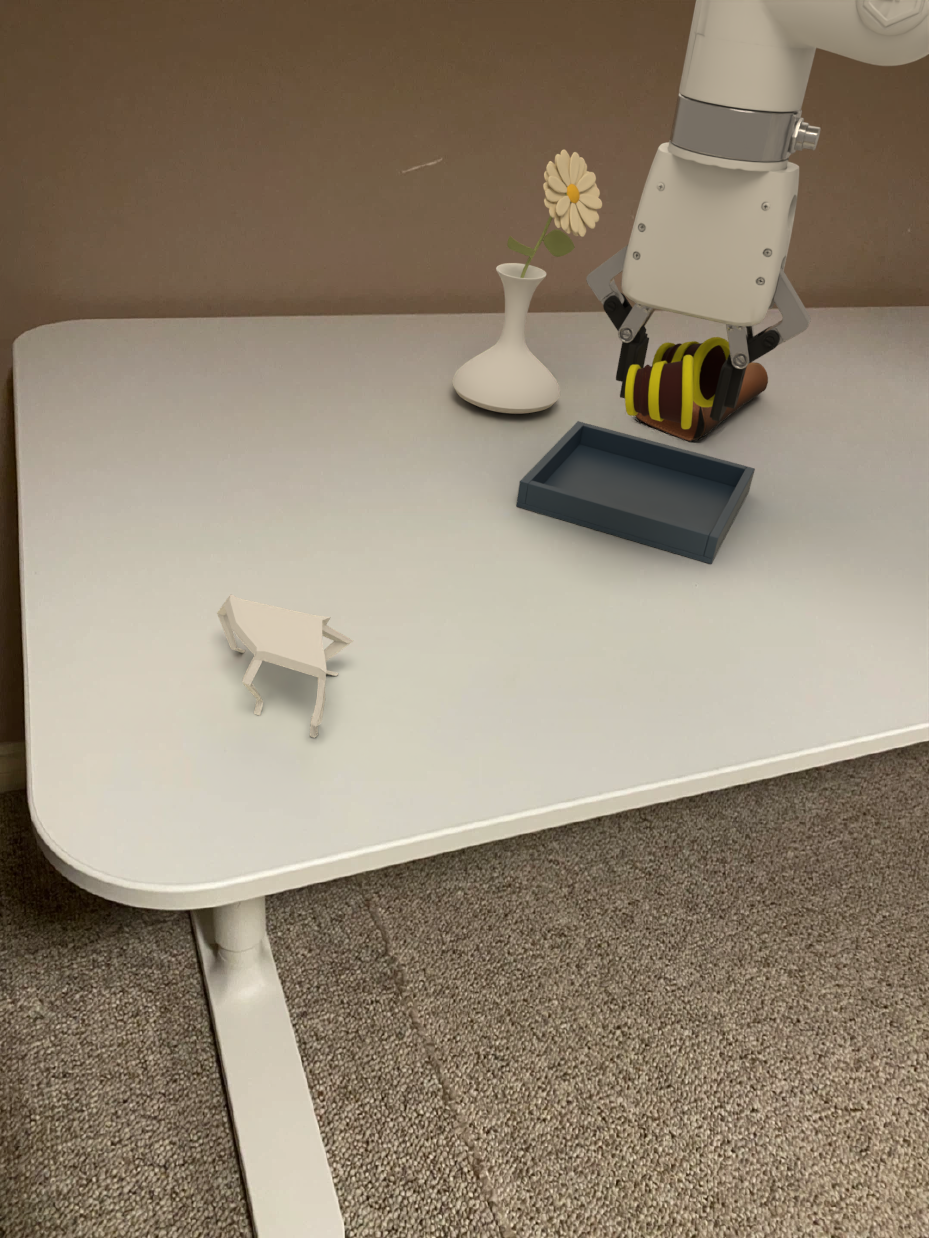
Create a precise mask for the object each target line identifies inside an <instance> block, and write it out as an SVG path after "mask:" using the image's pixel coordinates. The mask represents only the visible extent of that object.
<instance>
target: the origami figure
mask: <svg viewBox="0 0 929 1238" xmlns="http://www.w3.org/2000/svg"><path fill="white" fill-rule="evenodd" d="M216 615H217V617H218V620H219V622H220V625H221V627H222V630H223V632H224V635H225V638H226V640H227V644H228V645H229V647H230V649H231V650H232V651H236V652H239V653H241V654H244V653H245V652H246V649H243V648H240V647H238V645H237V641H236V638H235V635H236V637H237V638H238V639H239V640H240V641H241V642H242V644H243V645H244V646H245V647H246V648H247V650H249V651H250V653H252V655H253V657H252V659H251V661H250V663H249V665H248V667H247V669H246V671H245V673H244V675H243V677H242V681H241V683H242V684H243V685H244V686H245V687H246V689H247V690H248V691H249V692H250V693H251V694H252V695H253V697H254V698H255V704H254V711H253V714H254V715H257V716H259V717H261V714H262V709H263V706H264V700H263V698H262V697H261V695H260V693H259V691H258V690H257V688H256V687H255V685H254V683H253V681H254V679H255V676H256V675H257V673H258V671H259V669H260V666H261V665H262V663H263V662H266V663H270V664H272V665H276V666H280V667H283V668H285V669H289V670H293V671H295V672H299V673H303V674H305V675H309V676H313V677H315V678H317V679H316V680H317V691H316V692H317V693H316V699H315V700H316V701H315V705H314V709H313V713H312V716H311V717H310V728H309V730H310V731H309V737H311V738H313V739H316V737H318V736H319V725H321V724H322V723H323V717H324V711H325V703H326V681H327V680H326V679H327V675H329V676H334V677H337V676H338V675H339V672H336V671H331V670H328V669H327V661H330V659H332V657H334V656H336V655H337V654H338V653H340V652H342V651H343V650H344V649H345V648H346V647H347V646H349V645H350V644H352V643H353V642H354V640H353V639H351V638H350V637H348V636H346V635H344V634H343V633H341V632H339V631H338V630H336V629H334V628H333V627H331V626H329V625H328V623H329V621H330V620H331V616H325V615H324V616H323V615H315V614H311V613H307V612H302V611H297V610H293V609H289V608H284V607H280V606H276V605H272V604H266V603H262V602H258V601H253V600H250V599H244V598H240V597H237V596H235V595H233V594H232V593H231V594H229V596H228V597H227V598H226V600H225V601H224V602H223V604H222V605H221V606H220V608H219V610H218V611H217V612H216ZM323 637H325V638H326V639H329V640H331V641H332V642H331V643H330V644H329V645H328V646H327V647H326V648H325V649H324V644H323Z"/></svg>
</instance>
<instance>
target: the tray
mask: <svg viewBox="0 0 929 1238" xmlns="http://www.w3.org/2000/svg"><path fill="white" fill-rule="evenodd" d="M755 472H756V469H755V467H751V466H747V465H744V464H740V463H737V462H733V461H729V460H727V459H726V460H725V459H721V458H718V457H714V456H710V455H707V454H703V453H699V452H695V451H691V450H688V449H684V448H680V447H677V446H672V445H669V444H665V443H661V442H659V441H654V440H650V439H646V438H643V437H639V436H636V435H632V434H628V433H625V432H620V431H617V430H613V429H610V428H605V427H602V426H597V425H595V424H591V423H587V422H583V421H579V420H577V421H576V422H575V423H574V424H573V425H572V426H571V428H570V429H568V430H567V431H566V432H565V434H564V435H563V436H562V437H561V438H560V439H559V440H558V441H557V442H556V443H555V444H554V445H553V446H552V447H551V448H550V449H549V450H548V451H547V452H546V453H545V454H544V455H543V456H542V457H541V459H540V460H539V461H538V462H537V463H535V464H534V466H533V467H532V468H531V469H530V470H529V471H528V472H527V473H526V474H525V475H524V476H523V477H522V478H521V479H520V480H519V483H518V491H517V498H516V505H515V507H517V508H521V509H524V510H527V511H530V512H533V513H537V514H541V515H543V516H547V517H549V518H550V517H551V518H554V519H558V520H561V521H563V522H568V523H571V524H575V525H578V526H581V527H584V528H588V529H591V530H595V531H598V532H601V533H605V534H607V535H612V536H615V537H618V538H621V539H625V540H628V541H631V542H635V543H639V544H642V545H645V546H649V547H652V548H656V549H658V550H662V551H664V552H665V551H666V552H669V553H672V554H675V555H679V556H682V557H686V558H688V559H689V558H690V559H693V560H695V561H699V562H702V563H706V564H710V565H712V564H713V562H714V560H715V558H716V556H717V554H718V552H719V550H720V548H721V547H722V545H723V543H724V541H725V539H726V537H727V535H728V533H729V532H730V530H731V527H732V525H733V523H734V522H735V519H736V517H737V516H738V514H739V512H740V510H741V508H742V506H743V503H744V502H745V500H746V498H747V496H748V494H749V492H750V489H751V485H752V482H753V478H754V475H755Z"/></svg>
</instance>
